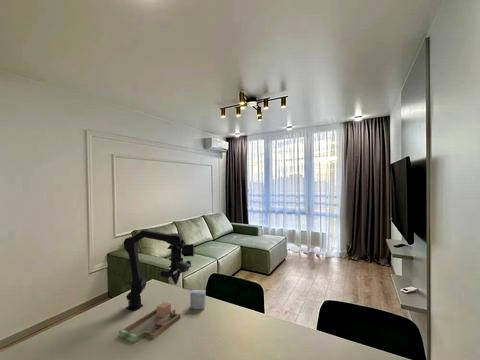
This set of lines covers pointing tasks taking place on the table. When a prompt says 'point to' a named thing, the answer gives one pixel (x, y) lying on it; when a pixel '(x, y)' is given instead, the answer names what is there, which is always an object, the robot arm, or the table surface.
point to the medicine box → (198, 299)
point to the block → (163, 309)
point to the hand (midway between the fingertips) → (175, 284)
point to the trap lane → (159, 325)
